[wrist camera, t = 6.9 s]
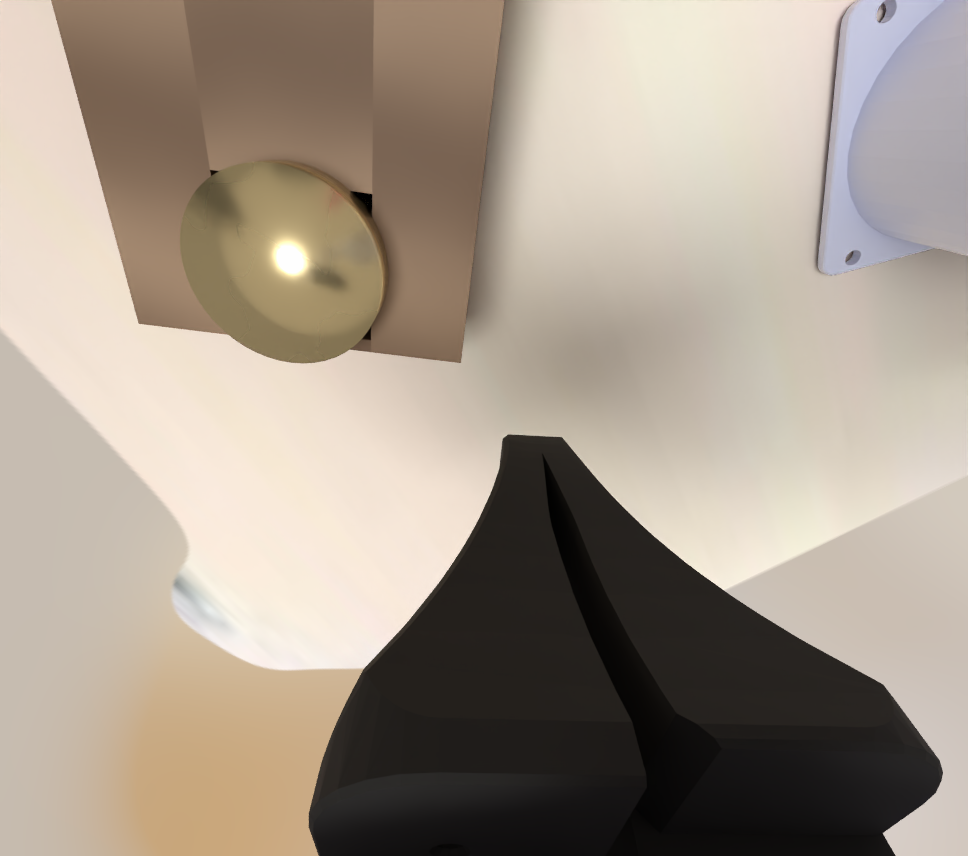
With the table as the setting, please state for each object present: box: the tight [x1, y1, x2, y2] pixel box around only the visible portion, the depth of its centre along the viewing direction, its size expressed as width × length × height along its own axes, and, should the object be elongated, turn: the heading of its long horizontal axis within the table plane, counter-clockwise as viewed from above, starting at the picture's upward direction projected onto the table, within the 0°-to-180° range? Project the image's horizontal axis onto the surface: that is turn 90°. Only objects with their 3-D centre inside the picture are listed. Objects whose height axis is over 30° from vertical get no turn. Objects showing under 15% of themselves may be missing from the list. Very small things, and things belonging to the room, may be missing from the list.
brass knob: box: [180, 160, 389, 363], centre depth 14 cm, size 5×5×5 cm
